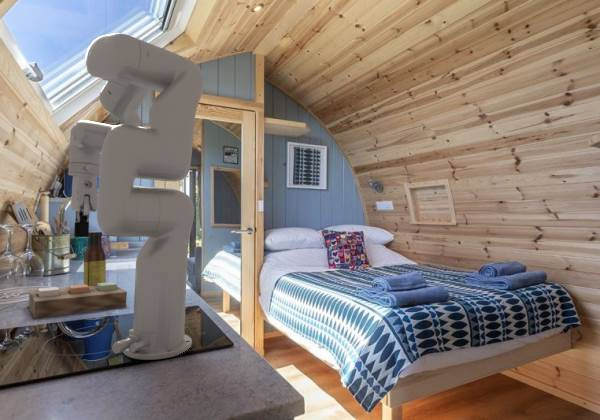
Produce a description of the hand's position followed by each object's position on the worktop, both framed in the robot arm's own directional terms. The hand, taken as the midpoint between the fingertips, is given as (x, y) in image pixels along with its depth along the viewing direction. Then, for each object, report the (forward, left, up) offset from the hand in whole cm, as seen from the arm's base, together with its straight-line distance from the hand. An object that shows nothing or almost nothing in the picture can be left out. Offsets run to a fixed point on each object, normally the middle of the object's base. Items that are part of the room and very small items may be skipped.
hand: (81, 236), depth 100 cm
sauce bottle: (+14, +10, -20) cm, 26 cm away
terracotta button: (0, 0, -17) cm, 17 cm away
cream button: (-6, +3, -17) cm, 18 cm away
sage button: (+6, -3, -17) cm, 18 cm away
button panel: (0, 0, -19) cm, 19 cm away
